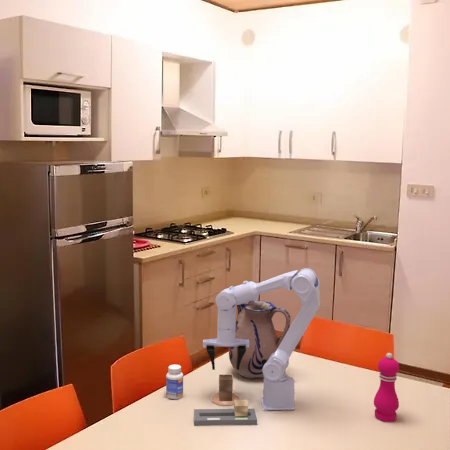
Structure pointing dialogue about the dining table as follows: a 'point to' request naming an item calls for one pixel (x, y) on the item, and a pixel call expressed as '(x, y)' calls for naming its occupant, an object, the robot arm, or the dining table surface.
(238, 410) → the switch tab
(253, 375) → the ceramic pitcher
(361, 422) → the dining table surface
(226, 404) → the coaster
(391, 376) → the pepper mill
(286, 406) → the robot arm
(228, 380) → the block
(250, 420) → the switch panel
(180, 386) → the pill bottle
